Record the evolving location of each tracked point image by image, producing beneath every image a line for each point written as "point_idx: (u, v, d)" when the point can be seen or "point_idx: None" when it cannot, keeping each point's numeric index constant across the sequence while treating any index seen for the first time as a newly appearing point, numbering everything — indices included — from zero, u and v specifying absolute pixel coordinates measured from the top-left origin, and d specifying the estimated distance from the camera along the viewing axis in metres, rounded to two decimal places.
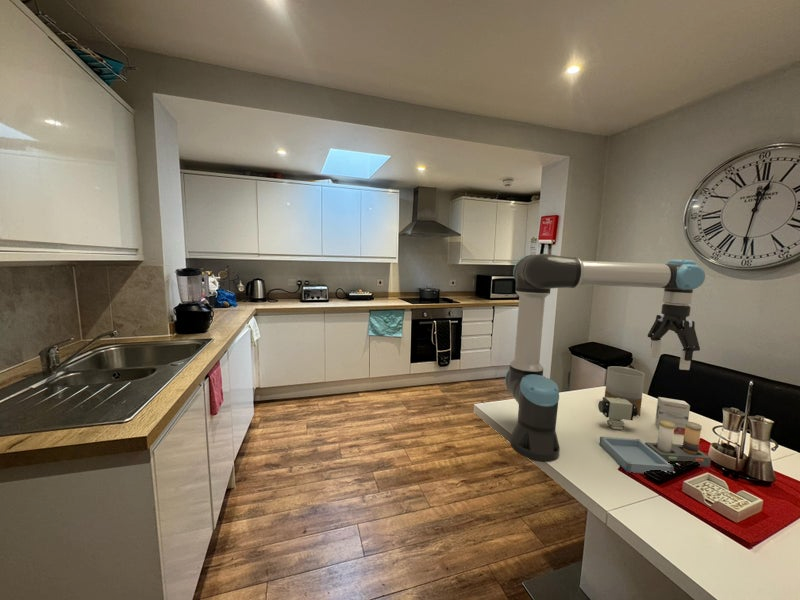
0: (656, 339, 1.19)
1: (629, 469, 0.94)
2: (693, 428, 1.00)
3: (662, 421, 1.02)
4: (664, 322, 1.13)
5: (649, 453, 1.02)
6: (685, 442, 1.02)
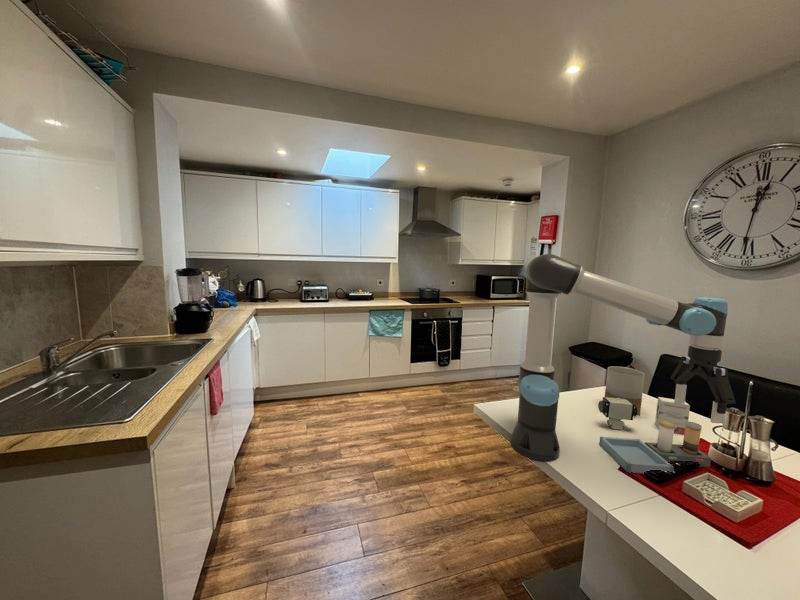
0: (681, 382, 1.07)
1: (629, 469, 0.94)
2: (693, 428, 1.00)
3: (662, 421, 1.02)
4: (691, 366, 1.01)
5: (649, 453, 1.02)
6: (685, 442, 1.02)
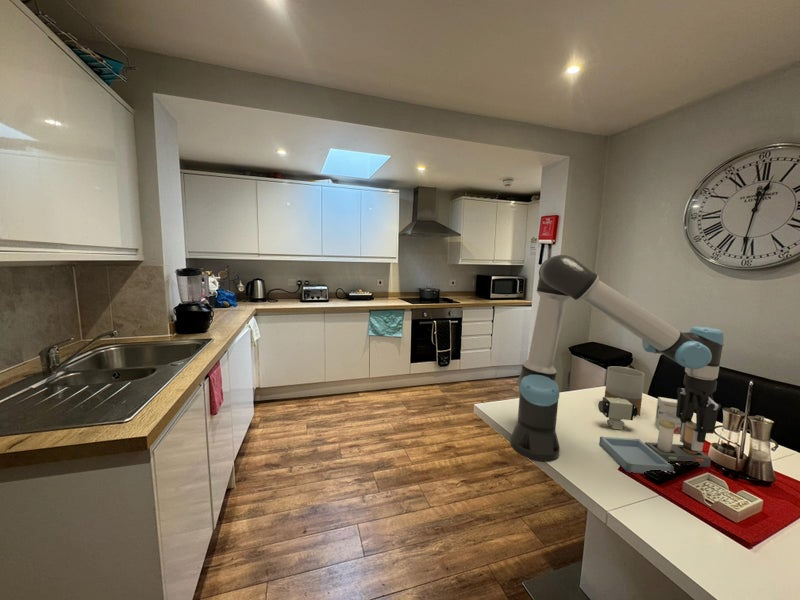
0: (687, 420, 1.03)
1: (629, 469, 0.94)
2: (693, 428, 1.00)
3: (662, 421, 1.02)
4: (687, 395, 1.01)
5: (649, 453, 1.02)
6: (685, 442, 1.02)
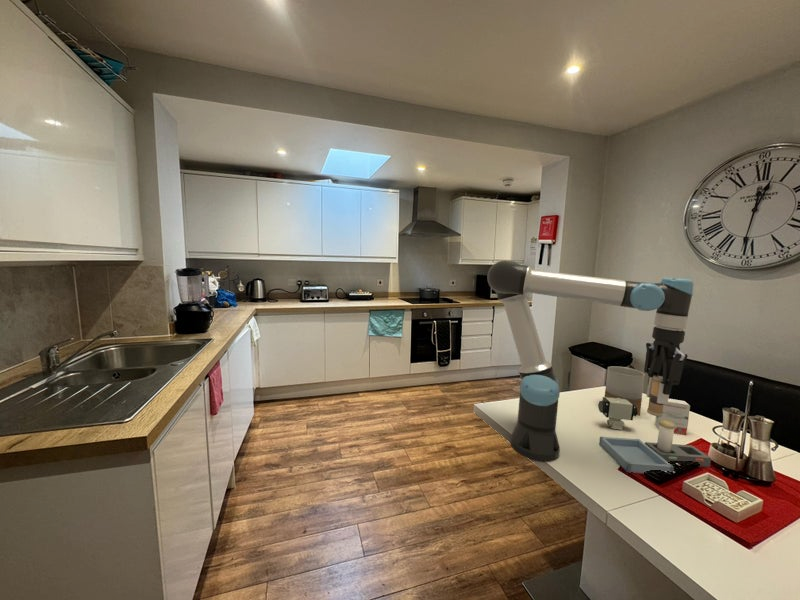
0: (654, 375, 1.02)
1: (629, 469, 0.94)
2: None
3: (662, 421, 1.02)
4: (655, 348, 0.99)
5: (649, 453, 1.02)
6: (652, 396, 1.00)
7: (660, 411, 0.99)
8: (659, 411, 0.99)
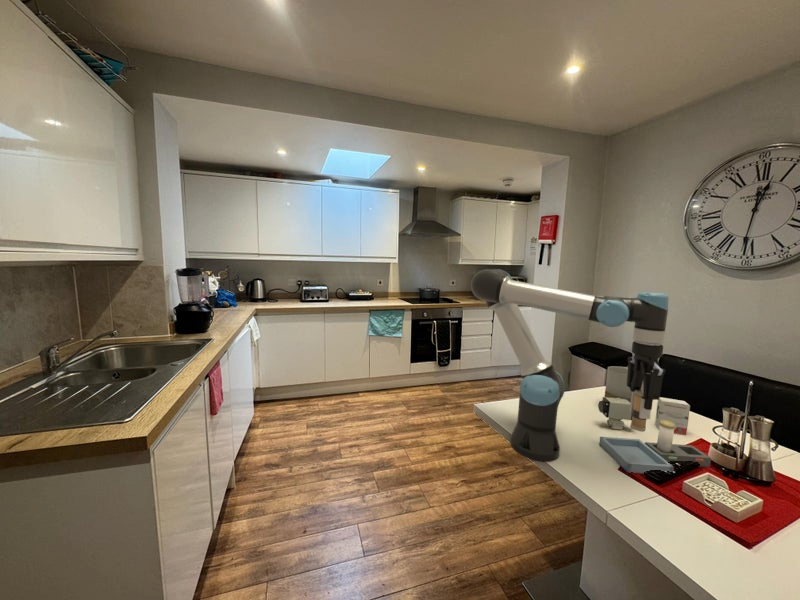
0: (636, 389, 1.01)
1: (629, 469, 0.94)
2: (641, 395, 0.98)
3: (662, 421, 1.02)
4: (635, 362, 0.99)
5: (649, 453, 1.02)
6: (634, 410, 1.00)
7: (643, 426, 0.98)
8: (642, 426, 0.98)
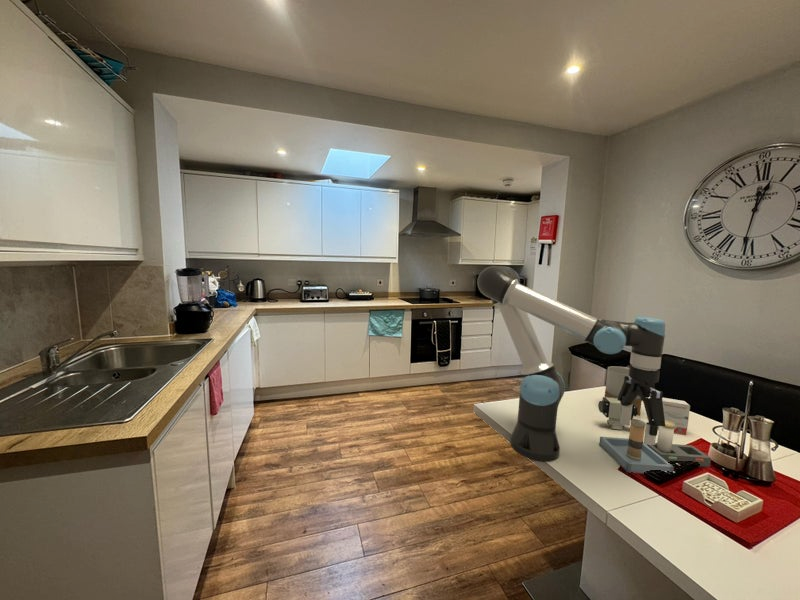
0: (626, 404, 1.06)
1: (629, 469, 0.94)
2: (637, 425, 0.99)
3: None
4: (632, 386, 1.01)
5: (649, 453, 1.02)
6: (630, 439, 1.01)
7: (638, 455, 0.99)
8: (637, 456, 0.99)
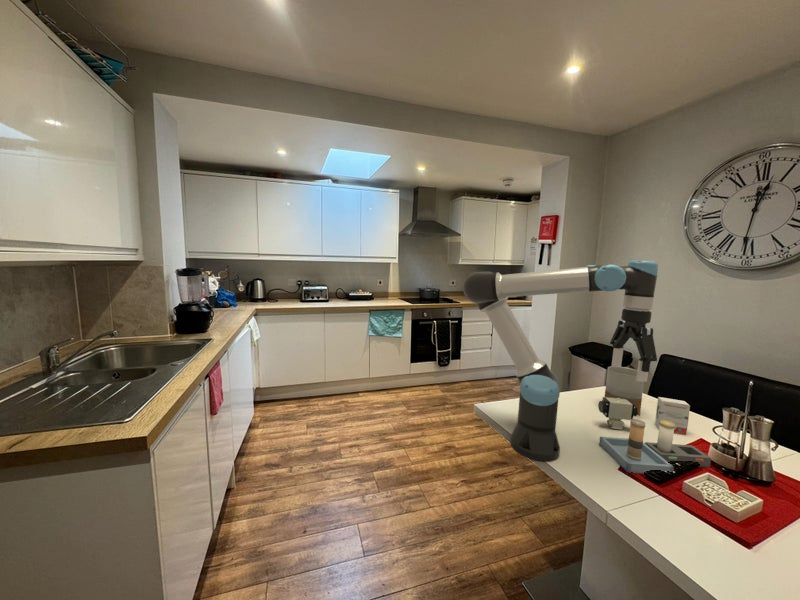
0: (618, 347, 1.09)
1: (629, 469, 0.94)
2: (637, 425, 0.99)
3: (662, 421, 1.02)
4: (624, 328, 1.03)
5: (649, 453, 1.02)
6: (630, 439, 1.01)
7: (638, 455, 0.99)
8: (637, 455, 0.99)
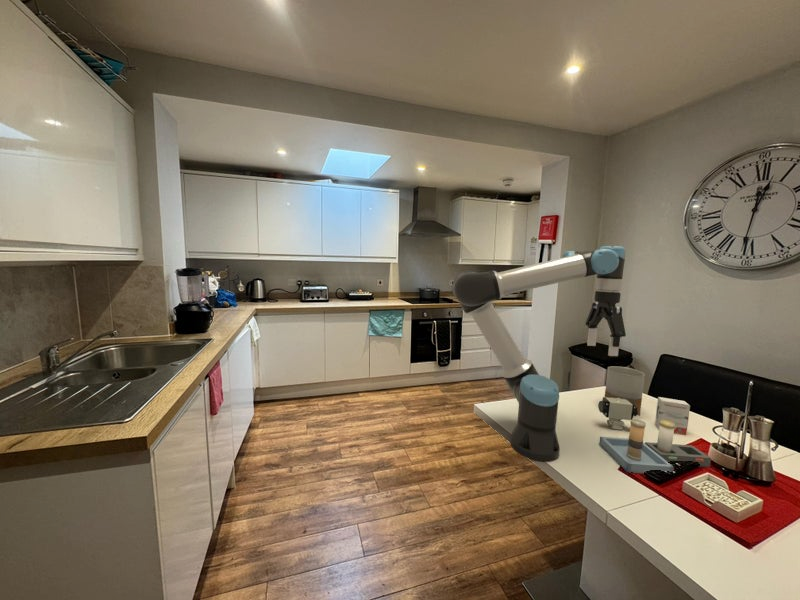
0: (592, 327, 1.19)
1: (629, 469, 0.94)
2: (637, 425, 0.99)
3: (662, 421, 1.02)
4: (597, 309, 1.12)
5: (649, 453, 1.02)
6: (630, 439, 1.01)
7: (638, 455, 0.99)
8: (637, 456, 0.99)
